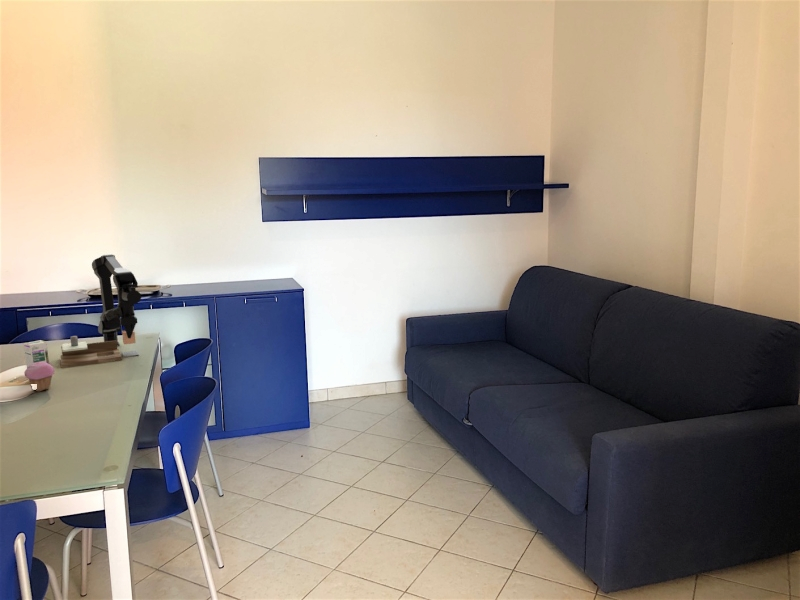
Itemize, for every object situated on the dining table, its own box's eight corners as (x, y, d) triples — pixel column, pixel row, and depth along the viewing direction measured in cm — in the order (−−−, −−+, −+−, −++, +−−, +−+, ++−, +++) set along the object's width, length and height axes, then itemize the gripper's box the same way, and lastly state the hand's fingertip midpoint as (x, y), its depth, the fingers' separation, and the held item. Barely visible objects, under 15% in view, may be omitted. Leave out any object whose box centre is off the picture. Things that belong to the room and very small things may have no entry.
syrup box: (34, 383, 218) (30, 344, 215) (27, 380, 221) (23, 342, 219) (51, 379, 222) (47, 341, 220) (44, 376, 226) (40, 339, 223)
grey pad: (122, 353, 259) (121, 352, 259) (137, 351, 262) (136, 350, 262) (123, 357, 253) (123, 356, 252) (139, 355, 255) (138, 354, 255)
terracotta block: (123, 342, 257) (122, 330, 257) (134, 341, 260) (133, 329, 259) (124, 344, 254) (123, 332, 253) (135, 343, 256) (134, 331, 255)
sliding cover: (62, 345, 251) (61, 335, 251) (86, 343, 256) (85, 332, 255) (62, 351, 241) (61, 340, 240) (87, 349, 245) (86, 338, 245)
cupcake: (47, 384, 216) (44, 357, 214) (61, 388, 212) (58, 361, 210) (21, 391, 209) (18, 363, 207) (35, 395, 204) (32, 367, 203)
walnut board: (61, 358, 252) (60, 346, 251) (118, 351, 262) (117, 339, 262) (61, 367, 238) (59, 354, 237) (121, 360, 249) (120, 347, 248)
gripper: (103, 299, 258) (106, 334, 260) (106, 306, 242) (109, 343, 244) (131, 297, 263) (134, 332, 266) (135, 303, 247) (139, 340, 250)
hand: (128, 336), depth 256 cm, fingers closed on terracotta block, 4 cm apart
